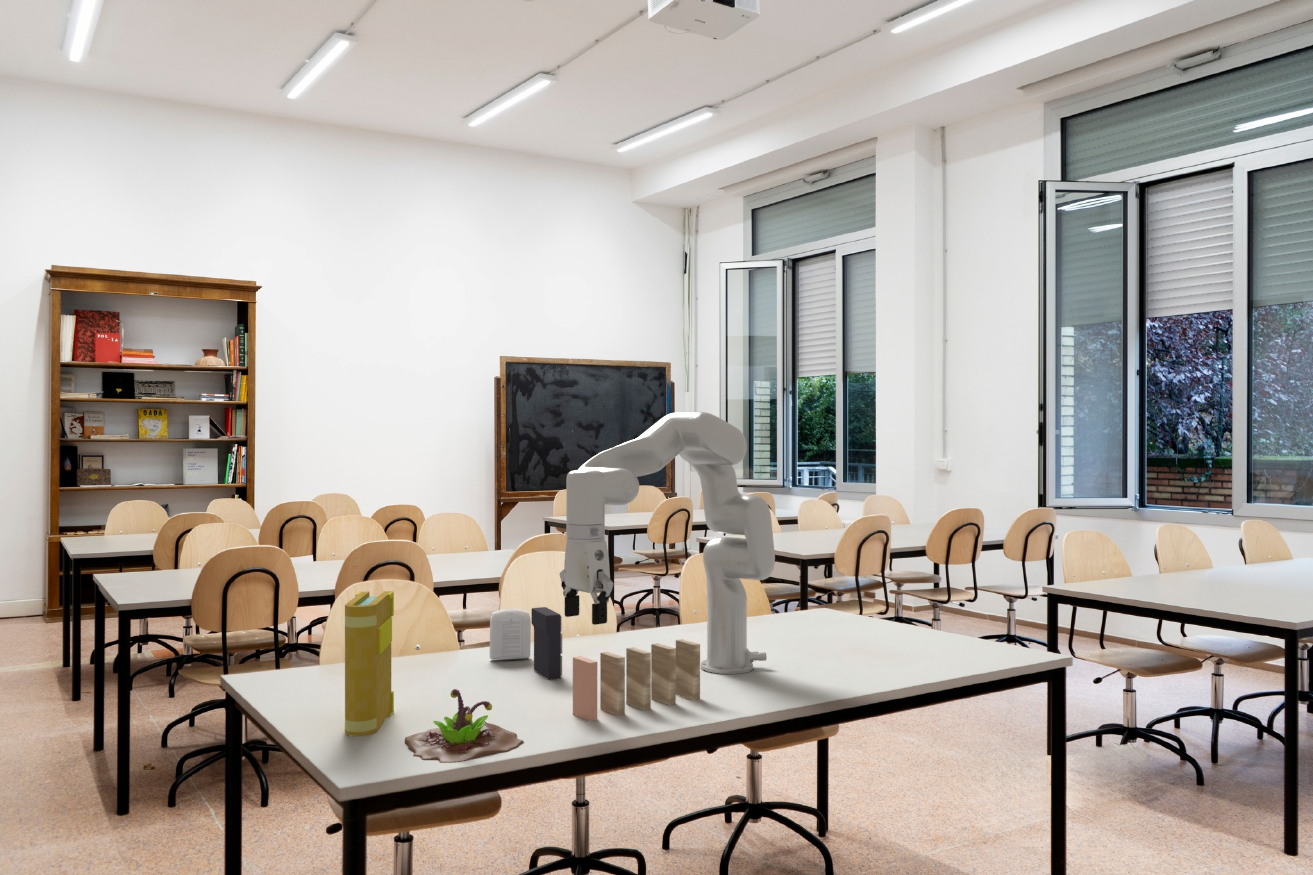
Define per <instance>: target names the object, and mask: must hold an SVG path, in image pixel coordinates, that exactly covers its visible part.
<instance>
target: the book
mask: <svg viewBox="0 0 1313 875" xmlns="http://www.w3.org/2000/svg"><path fill="white" fill-rule="evenodd" d="M394 597H395V591H394V590H393V591H390V590H389V591H388V590H386V591H383V592H381V593H380V594H379V595H378V596H370V591H358V592H357V593H355V596H353V598H352V599H351V600H349V601H348V602H346V604H344V733H346V734H345V735H347V736H350V735H352V736H353V737H364V736H370V735H372V734H375V733H377V732H378V730H380V728H381V727H382V725H383V723H385V721H386V720H385V719H387V718H388V717H392V714H393V713H394V712H393V711H394V710H395V708H394V707H395V706H394V705H395V693H394V692H395V691H394V690H393V691H392V641H393V617H394V615H395V610H394V608H395V607H394V605H395V602H394V600H395V598H394ZM380 726H381V727H380ZM352 736H351V737H352Z"/></svg>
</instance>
